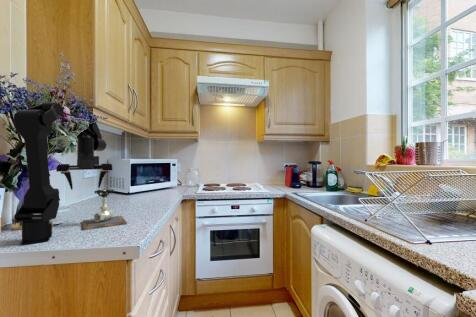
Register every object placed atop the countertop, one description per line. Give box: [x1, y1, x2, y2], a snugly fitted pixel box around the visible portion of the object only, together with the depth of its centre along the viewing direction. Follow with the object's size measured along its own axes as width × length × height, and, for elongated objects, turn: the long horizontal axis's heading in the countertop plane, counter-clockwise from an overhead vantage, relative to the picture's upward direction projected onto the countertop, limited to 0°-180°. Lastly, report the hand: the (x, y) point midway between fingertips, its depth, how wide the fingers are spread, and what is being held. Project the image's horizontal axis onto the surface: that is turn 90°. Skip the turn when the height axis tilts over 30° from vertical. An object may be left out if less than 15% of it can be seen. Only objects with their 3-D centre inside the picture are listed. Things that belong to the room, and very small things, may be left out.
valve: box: [93, 188, 115, 223], centre depth 93 cm, size 7×7×12 cm
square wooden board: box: [82, 215, 128, 231], centre depth 93 cm, size 14×14×1 cm
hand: (85, 188), depth 97 cm, fingers open, 9 cm apart
